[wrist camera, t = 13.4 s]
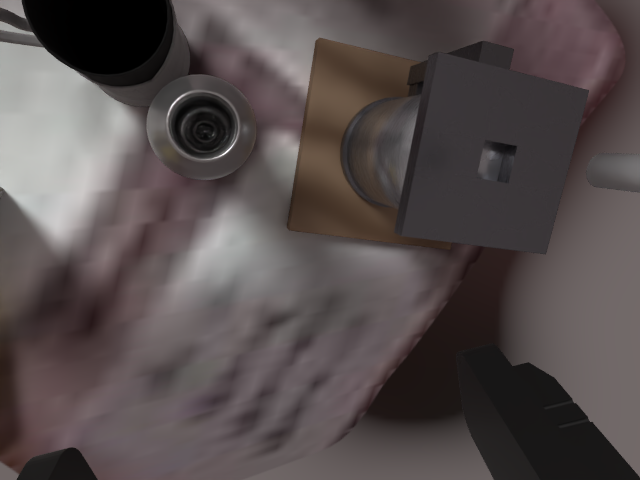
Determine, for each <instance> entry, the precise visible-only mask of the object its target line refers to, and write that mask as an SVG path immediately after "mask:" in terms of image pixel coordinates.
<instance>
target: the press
mask: <svg viewBox="0 0 640 480" xmlns="http://www.w3.org/2000/svg"><path fill="white" fill-rule="evenodd" d="M513 51H514V49H512V48H508V47H504V46H501V45H497V44H493V43H490V42H486V41H481V42H478V43H475V44H473V45H470V46H467V47H464V48H461V49H458V50H456V51H453V52H450V53H447V54H445V53H441V52H437V53H434V54H432V55H429V58H428V60H427V61H424V62H421V63H419V64H416V65H413V66H410V71H409V76H408V82H407V85H409V86H410V87H409V92H408V97H405V98H404V97H390V98H384V99H380V100H377V101H374V102H372V103H370V104H368V105H366V106H365V107H363V108H362V109H361V110H360V111H358V112H357V113H356V115H355V116H354V117H353V118H352V119H351V121H350V122H349V124H348V126H347V128H346V129H345V132H344V135H343V137H342V141H341V147H340V161H341V167H342V171H343V174H344V176H345V179H346V181H347V182H348V184H349V186H350V187H351V188H352V189H353V191H354V192H355V193H356V194H357V195H359V196H360V197H361V198H363V199H364V200H366V201H368V202H370V203H373V204H375V205H378V206H382V207H390V208H395V209H398V214H397V219H396V224H395V229H394V233H396V234H398V235H400V236H405V237H413V238H421V239H429V240H437V241H445V242H453V243H460V244H468V245H476V246H484V247H492V248H500V249H508V250H516V251H524V252H533V253H540V254H546V252H547V248H548V244H549V240H550V236H551V233H552V229H553V225H554V222H555V218H556V214H557V210H558V206H559V202H560V199H561V195H562V191H563V188H564V184H565V180H566V176H567V172H568V169H569V164H570V161H571V157H572V153H573V150H574V146H575V142H576V138H577V134H578V131H579V127H580V123H581V119H582V116H583V112H584V108H585V104H586V100H587V97H588V93H589V90H586V89H582V88H578V87H574V86H570V85H566V84H563V83H559V82H555V81H551V80H547V79H543V78H539V77H535V76H531V75H527V74H523V73H520V72H516V71H512V70H509V69H510V64H511V60H512V56H513Z"/></svg>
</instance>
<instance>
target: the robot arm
mask: <svg viewBox="0 0 640 480" xmlns="http://www.w3.org/2000/svg"><path fill="white" fill-rule="evenodd" d="M456 360H457V367H458V376H459V384H460V392H461V400H462V407H463V412H464V416H465V420H466V423H467V426H468V428H469V431H470V433H471V436H472V438H473V440H474V442H475V444H476V446H477V447H478V450H479V451H480V453H481V455H482V457H483V459H484V461H485V463H486V465H487V467H488V469H489V471H490V472H491V475H492V477H493V478H494V480H640V477H639V476H638V475H637V474H636V472H635V471H634V470H633V469H632V468H631V467H630V465H629V464H628V463H627V462H626V461H625V460H624V459H623V458H622V456H621V455H620V454H619V453H618V452H617V450H616V449H615V448H614V447H613V446H612V445H611V443H610V442H609V441H608V440H607V439H606V437H605V436H604V435H603V434H602V433H601V432H600V431H599V429H598V428H597V427H596V426H595V425H594V424H593V422H590V421H589V419H588V417H587V416H586V415H585V413H584V412H583V411H582V410H581V409H580V407H579V406H578V405H577V404H576V403H574V402H573V400H572V398H571V397H570V396H569V395H568V393H567V392H566V391H565V390H564V389H563V387H562V386H561V385H560V384H559V383H558V382H557V380H556V379H555V378H554V377H552V376H550V375H549V374H547V373H545V372H544V371H542V370H540V369H539V368H537V367H535V366H534V365H532V364H530V363H524V364H520V365H516V366H512V365H511V364H510V362H509V361H508V360H507V359H506V357H505V356H504V355H503V353H502V352H501V351H500V349H499V348H498V347H497V346H496V345H495V344H488V345H484V346H480V347H476V348H472V349H468V350H464V351H460V352H457V355H456ZM17 480H98V479H97V478H96V476H95V475H94V473H93V471H92V470H91V468H90V467H89V465H88V463H87V462H86V460H85V459H84V457H83V456H82V454H81V453H80V451H79V450H78V449H76V448H67V449H63V450H59V451H55V452H51V453H47V454H43V455H39V456H35V457H33V458H31V459H30V460H29V461H28V462H27V463H26V465H25V466H24V468H23V470H22V471H21V473H20V475H19V476H18V478H17Z"/></svg>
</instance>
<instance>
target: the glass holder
mask: <svg viewBox="0 0 640 480" xmlns="http://www.w3.org/2000/svg"><path fill="white" fill-rule="evenodd" d="M22 5H23V9H24V13H25V16H26V18H27V19H25V18H21V17H19V16H17V15H16V14H14V13H12V12H10V11H8V10H5V9H2V8H0V21H2V22H5V23H8V24H10V25H12V26H14V27H16V28H18V29H21V30H25V31H30V32H33V33H34V34H35V36H33V35H27V34H20V33H14V32H8V31H2V30H0V41H1V42H8V43H15V44H22V45H29V46H37V47H45V49H46V50H47V51H48V52H49V53H51V54H52V55H53V56H54V57H55V58H56V59H58V60H59V61H60V62H62V63H64V64H65V65H67V66H69V67H70V68H72V69H74V70H75V71H77V72H78V73H79V74H80V75H81V76H83V77H85V78H86V79H88V80H89V81H91V82H93V83H95V84H97V85H98V86H99V87H100V88H101V89H102V90H103V91H104V92H105V93H107V94H108V95H109V96H111V97H113V98H114V99H116V100H118V101H120V102H123V103H125V104H129V105H133V106H143V107H144V106H150V105H151V103H152V101H153V99H154V98H155V96H156V95H157V94H158V93H159V91H160V90H161V89H162V88H163V87H165V86H166V85H167V84H169V83H170V82H172V81H174V80H176V79H178V78H180V77H184V76H187V75H188V73H189V67H190V51H189V46H188V43H187V40H186V37H185V35H184V33H183V31H182V29H181V28H180V26H179V25H178V23H177V19H176V15H175V11H174V7H173V4H172V1H171V0H22Z"/></svg>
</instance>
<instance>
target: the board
mask: <svg viewBox="0 0 640 480" xmlns="http://www.w3.org/2000/svg"><path fill="white" fill-rule="evenodd" d="M419 63H421V62H417V61H413V60H409V59H405V58H400V57H396V56H392V55H388V54H384V53H380V52H376V51H372V50H368V49H364V48H360V47H356V46H352V45H348V44H343V43H339V42H335V41H331V40H327V39H323V38H319V39H317V40H316V42H315V49H314V55H313V62H312V68H311V75H310V81H309V87H308V94H307V100H306V107H305V113H304V120H303V126H302V133H301V139H300V146H299V152H298V159H297V165H296V171H295V178H294V184H293V191H292V197H291V204H290V210H289V217H288V223H287V228H288V229H289V230H291V231H299V232H307V233H315V234H324V235H332V236H340V237H349V238H357V239H365V240H373V241H382V242H390V243H398V244H406V245H415V246H423V247H431V248H439V249H448V250H450V249H451V244H452V242H445V241H437V240H429V239H421V238H413V237H405V236H400V235H398V234H396V233H394V229H395V224H396V219H397V214H398V209H395V208H390V207H382V206H378V205H375V204H373V203H370V202H368V201H366V200H364V199H363V198H361V197H360V196H359V195H357V194H356V193H355V192H354V191H353V189H352V188H351V187H350V186H349V184H348V182H347V181H346V179H345V176H344V174H343V171H342V167H341V161H340V147H341V141H342V137H343V135H344V132H345V129H346V128H347V126H348V124H349V122H350V121H351V119H352V118H353V117H354V116H355V115H356V113H357V112H358V111H360V110H361V109H362V108H363V107H365V106H366V105H368V104H370V103H372V102H374V101H377V100H380V99H384V98H390V97H404V98H405V97H408V92H409V87H410V86H409V85H407V82H408V76H409V71H410V66H413V65H416V64H419Z"/></svg>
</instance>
